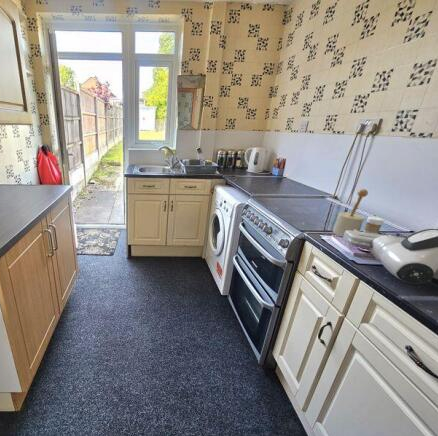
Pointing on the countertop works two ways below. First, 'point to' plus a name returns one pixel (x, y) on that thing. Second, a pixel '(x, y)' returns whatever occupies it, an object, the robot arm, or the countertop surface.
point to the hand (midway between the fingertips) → (370, 233)
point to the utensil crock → (350, 218)
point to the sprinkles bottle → (373, 226)
